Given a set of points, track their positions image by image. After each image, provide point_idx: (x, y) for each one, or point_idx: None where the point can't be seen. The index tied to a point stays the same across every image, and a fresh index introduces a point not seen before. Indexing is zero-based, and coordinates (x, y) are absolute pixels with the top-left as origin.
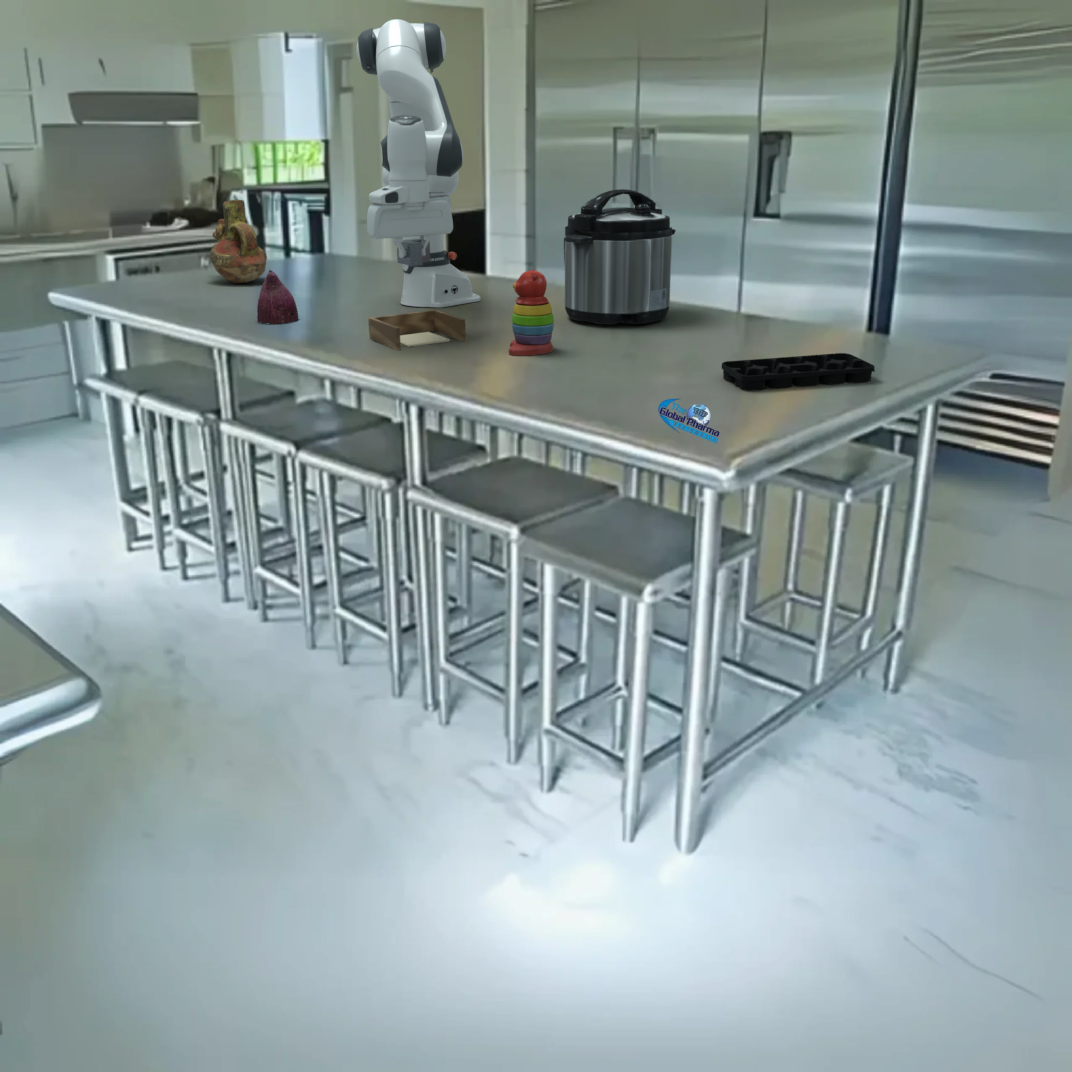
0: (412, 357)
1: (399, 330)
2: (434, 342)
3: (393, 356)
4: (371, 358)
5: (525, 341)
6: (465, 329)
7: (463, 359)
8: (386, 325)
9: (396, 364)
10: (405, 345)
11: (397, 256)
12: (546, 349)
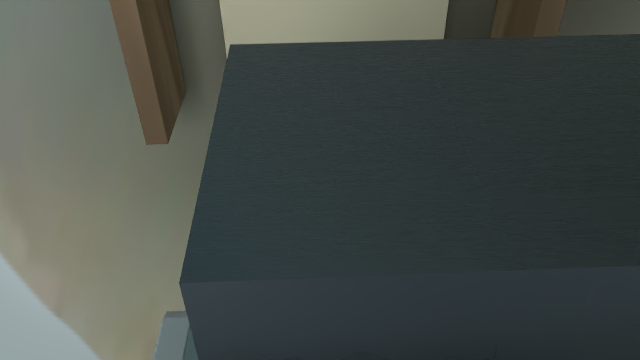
0: (188, 210)
1: (169, 136)
2: None
3: (127, 170)
4: (39, 158)
5: None
6: None
7: None
8: (122, 46)
9: (111, 257)
10: (225, 43)
11: (221, 96)
12: None
